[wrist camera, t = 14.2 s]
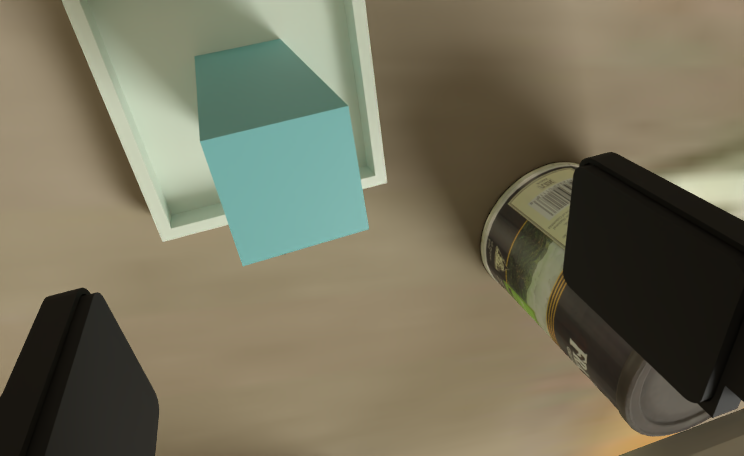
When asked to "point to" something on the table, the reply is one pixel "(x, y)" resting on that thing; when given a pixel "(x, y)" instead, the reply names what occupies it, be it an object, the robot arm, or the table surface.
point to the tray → (179, 93)
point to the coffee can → (573, 301)
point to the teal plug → (277, 150)
